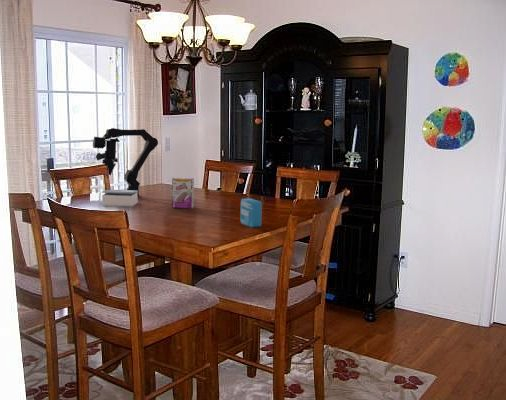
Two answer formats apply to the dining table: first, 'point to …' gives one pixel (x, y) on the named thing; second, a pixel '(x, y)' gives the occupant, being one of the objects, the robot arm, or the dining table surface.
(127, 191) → the lid
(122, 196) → the storage box
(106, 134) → the robot arm
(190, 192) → the candy bar box
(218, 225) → the dining table surface
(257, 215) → the data package
